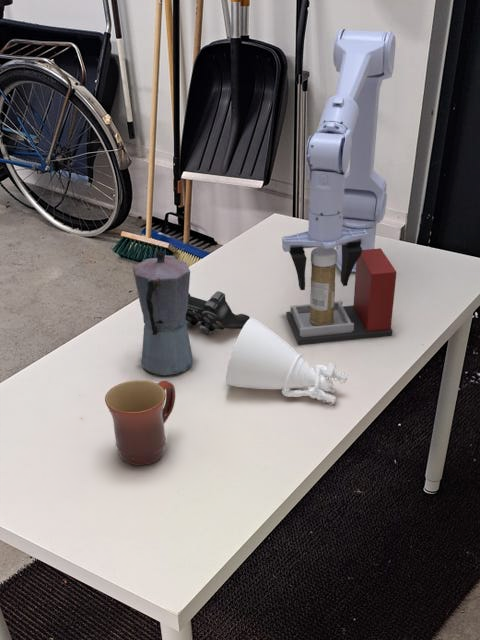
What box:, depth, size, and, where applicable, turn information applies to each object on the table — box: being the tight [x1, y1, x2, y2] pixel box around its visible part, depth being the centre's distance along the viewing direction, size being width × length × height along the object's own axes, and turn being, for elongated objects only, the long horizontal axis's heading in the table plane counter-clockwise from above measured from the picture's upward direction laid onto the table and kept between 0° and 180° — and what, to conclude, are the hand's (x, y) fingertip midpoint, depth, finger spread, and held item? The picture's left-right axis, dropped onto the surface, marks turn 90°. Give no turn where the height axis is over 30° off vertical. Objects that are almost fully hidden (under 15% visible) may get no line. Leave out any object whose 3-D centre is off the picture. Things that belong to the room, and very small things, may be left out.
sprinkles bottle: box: [309, 247, 337, 326], centre depth 152 cm, size 5×5×13 cm
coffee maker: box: [285, 248, 397, 346], centre depth 154 cm, size 11×17×12 cm, turn 99°
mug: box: [104, 379, 176, 466], centre depth 127 cm, size 12×9×10 cm
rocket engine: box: [225, 317, 349, 405], centre depth 139 cm, size 12×12×18 cm
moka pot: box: [132, 250, 194, 376], centre depth 142 cm, size 10×15×20 cm, turn 174°
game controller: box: [185, 290, 251, 335], centre depth 156 cm, size 16×7×10 cm, turn 55°
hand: (322, 285), depth 152 cm, fingers open, 7 cm apart
